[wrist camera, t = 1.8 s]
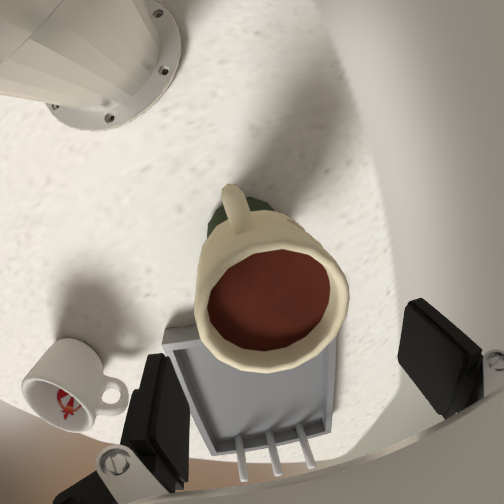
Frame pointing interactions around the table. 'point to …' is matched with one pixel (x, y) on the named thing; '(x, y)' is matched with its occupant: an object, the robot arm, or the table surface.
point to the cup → (71, 387)
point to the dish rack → (253, 400)
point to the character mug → (265, 288)
